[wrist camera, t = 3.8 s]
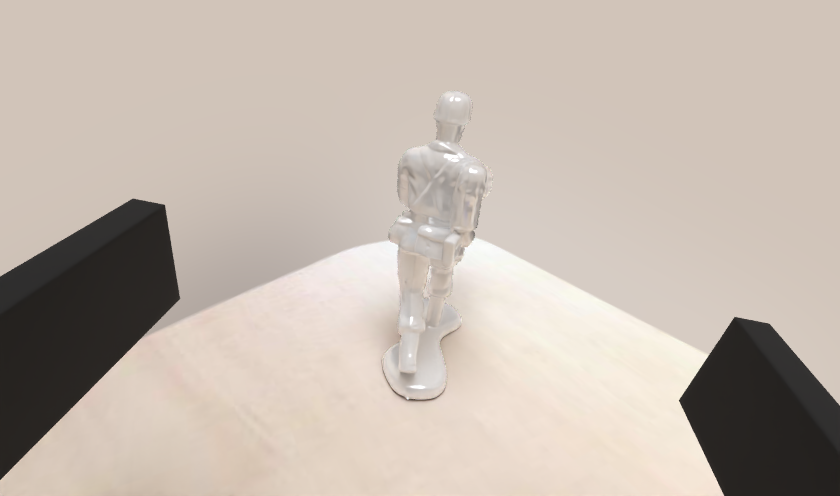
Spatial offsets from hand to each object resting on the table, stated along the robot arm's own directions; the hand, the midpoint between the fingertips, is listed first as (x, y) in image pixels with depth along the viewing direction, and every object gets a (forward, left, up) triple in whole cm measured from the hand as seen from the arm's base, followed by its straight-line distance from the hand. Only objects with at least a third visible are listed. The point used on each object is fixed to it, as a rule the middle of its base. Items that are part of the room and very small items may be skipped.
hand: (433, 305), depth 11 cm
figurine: (-5, +8, -9) cm, 13 cm away
